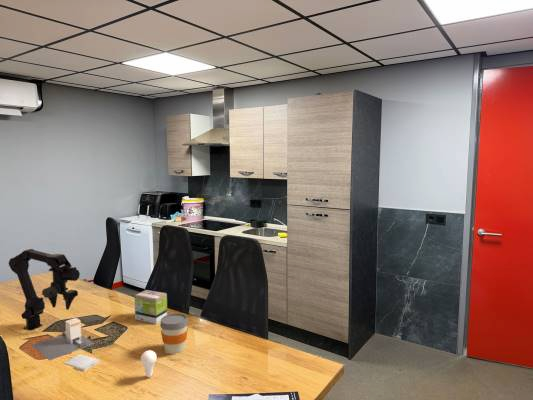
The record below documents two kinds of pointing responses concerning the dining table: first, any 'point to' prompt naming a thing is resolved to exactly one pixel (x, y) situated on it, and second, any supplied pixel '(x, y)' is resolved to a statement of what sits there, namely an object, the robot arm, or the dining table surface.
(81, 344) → the rail
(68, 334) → the block
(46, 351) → the mounting plate
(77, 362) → the hard drive
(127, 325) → the dining table surface
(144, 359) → the lightbulb
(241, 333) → the dining table surface
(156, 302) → the tea box
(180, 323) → the reusable coffee cup
